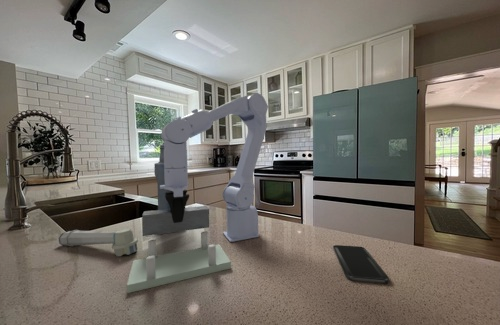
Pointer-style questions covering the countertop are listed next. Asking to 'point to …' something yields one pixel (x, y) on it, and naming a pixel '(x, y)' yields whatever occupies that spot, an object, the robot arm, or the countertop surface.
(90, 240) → the pale grey handled tool
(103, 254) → the countertop surface
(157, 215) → the steel bar
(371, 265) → the phone
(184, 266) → the peg rack
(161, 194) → the bottle
